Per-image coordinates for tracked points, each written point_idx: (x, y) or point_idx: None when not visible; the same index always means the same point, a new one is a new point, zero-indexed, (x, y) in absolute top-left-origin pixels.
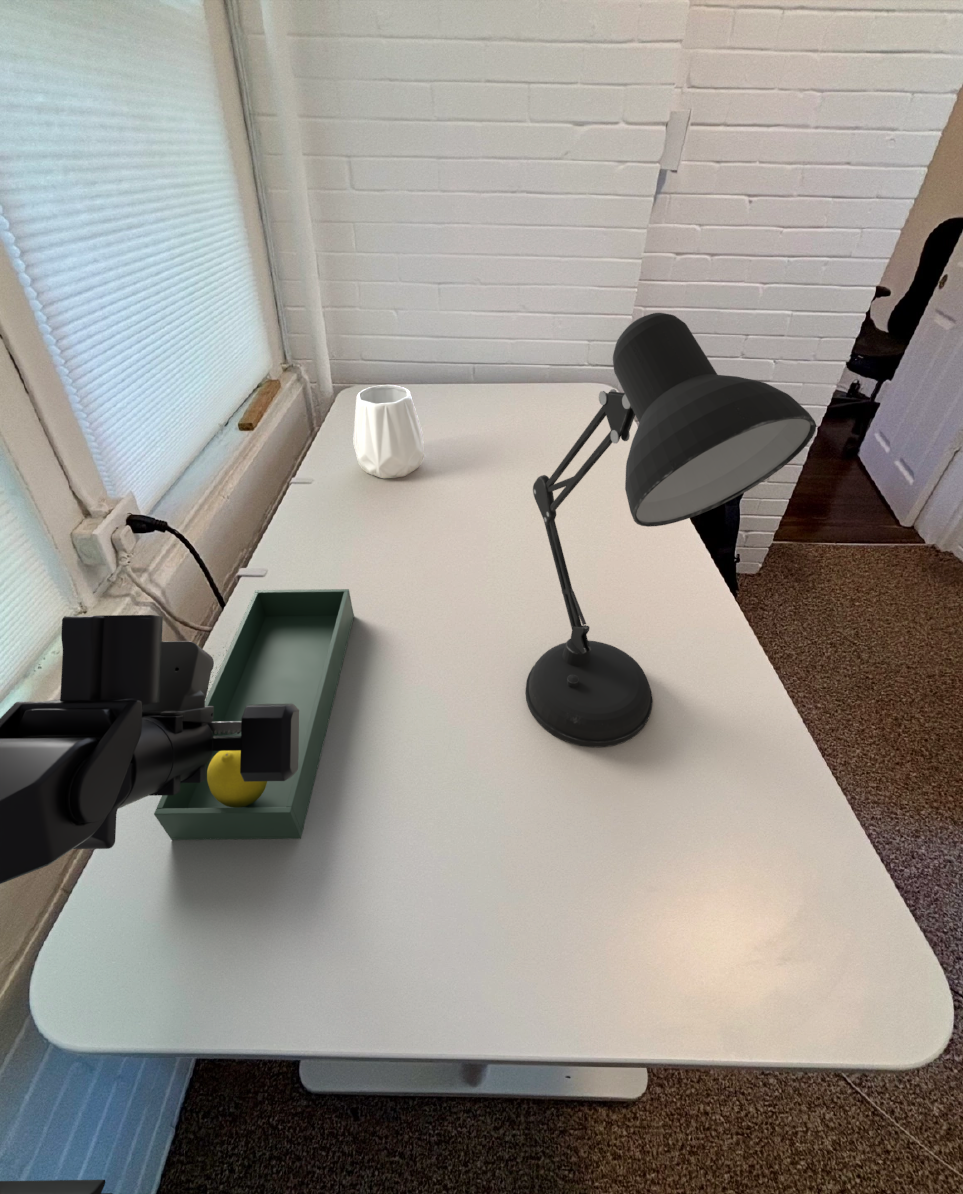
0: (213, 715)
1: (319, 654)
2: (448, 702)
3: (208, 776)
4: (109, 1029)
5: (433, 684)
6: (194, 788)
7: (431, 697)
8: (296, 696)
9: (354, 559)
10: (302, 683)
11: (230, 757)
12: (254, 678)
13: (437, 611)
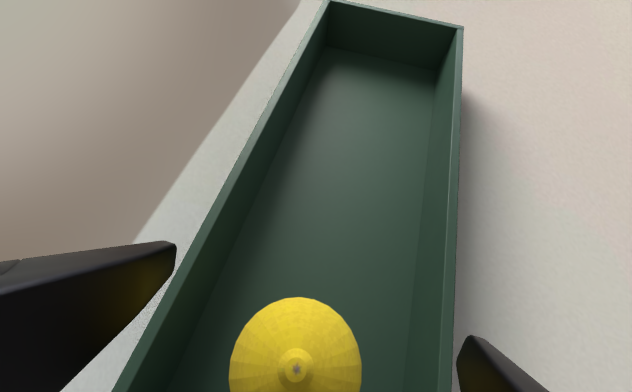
0: (250, 179)
1: (402, 116)
2: (620, 254)
3: (233, 389)
4: None
5: (584, 212)
6: (202, 311)
7: (588, 236)
8: (373, 175)
9: (430, 5)
10: (380, 155)
11: (306, 380)
12: (309, 128)
13: (556, 96)
